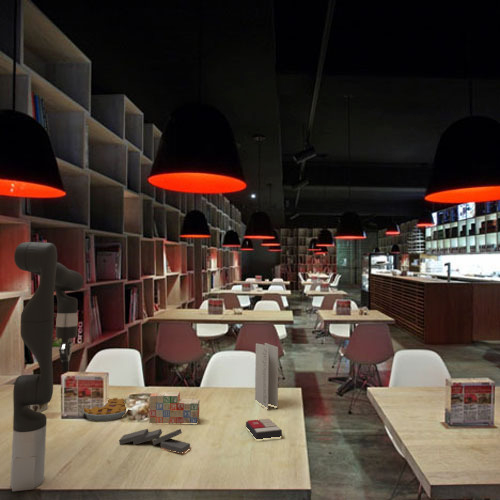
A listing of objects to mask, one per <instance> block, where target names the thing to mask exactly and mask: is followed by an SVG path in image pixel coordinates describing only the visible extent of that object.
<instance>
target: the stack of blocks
mask: <svg viewBox="0 0 500 500" xmlns="http://www.w3.org/2000/svg"><path fill="white" fill-rule="evenodd" d="M148 411H149V416H148V421H149V423H148V424H150V423H197V422H198V423H199V421H200V398H181V393H180V391H153V392H152V393H151V394H150V395H149V410H148ZM198 420H199V421H198ZM198 423H197V424H198Z"/></svg>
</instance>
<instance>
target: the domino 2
mask: <svg viewBox="0 0 500 500" xmlns="http://www.w3.org/2000/svg"><path fill="white" fill-rule="evenodd" d="M148 432H149V433H148V434H147V436H146V437H145V438H143V439H139V440H135V441H132V443H133V446H135V445H138V444H139V445H140V444H143V443H146V442H150V441H153V440H155V439H157V438H159V437H161V435H162V433H163V431H162V428H159V429H155V430H152V431H148Z"/></svg>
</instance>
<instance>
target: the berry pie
mask: <svg viewBox="0 0 500 500" xmlns="http://www.w3.org/2000/svg"><path fill="white" fill-rule="evenodd" d="M108 399H109V400H108V404H107V405H106V406H105V407H102V408H99V407H94V408H92V409H88V408H87V409H86V408H84V407H83V408H84V410H83V409H82V413H84V415H85V417H86V419H88V420H90V421H94V422H95V421H96V422H99V421H100V422H104V421H105V422H107V421H114V420H118V419H121V417H122V416H123V415H124V414H125V412H126V407H125V403H124V399H125V398H118V397H113V398H108ZM122 418H123V417H122Z"/></svg>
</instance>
